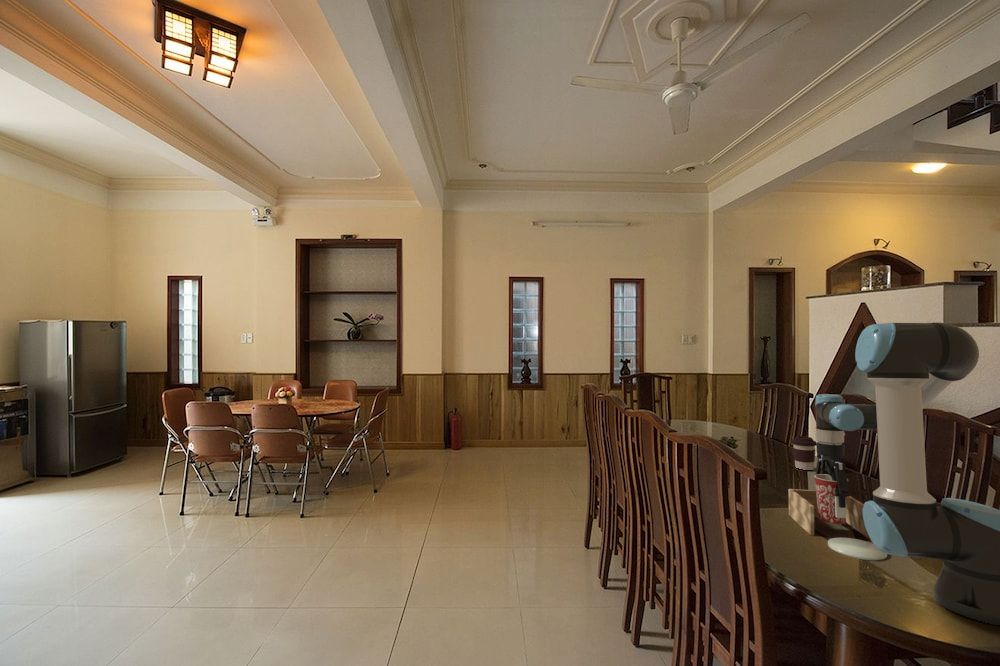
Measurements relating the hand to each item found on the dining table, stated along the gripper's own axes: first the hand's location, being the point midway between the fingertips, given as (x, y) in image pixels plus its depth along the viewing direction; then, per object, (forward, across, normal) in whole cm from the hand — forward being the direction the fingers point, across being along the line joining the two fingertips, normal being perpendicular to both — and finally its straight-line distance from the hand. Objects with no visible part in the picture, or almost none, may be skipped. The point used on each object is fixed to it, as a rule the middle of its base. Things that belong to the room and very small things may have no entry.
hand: (831, 511), depth 159 cm
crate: (+6, +4, 0) cm, 7 cm away
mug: (+3, 0, 0) cm, 3 cm away
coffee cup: (+5, +80, -21) cm, 83 cm away
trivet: (+6, -16, 0) cm, 17 cm away
